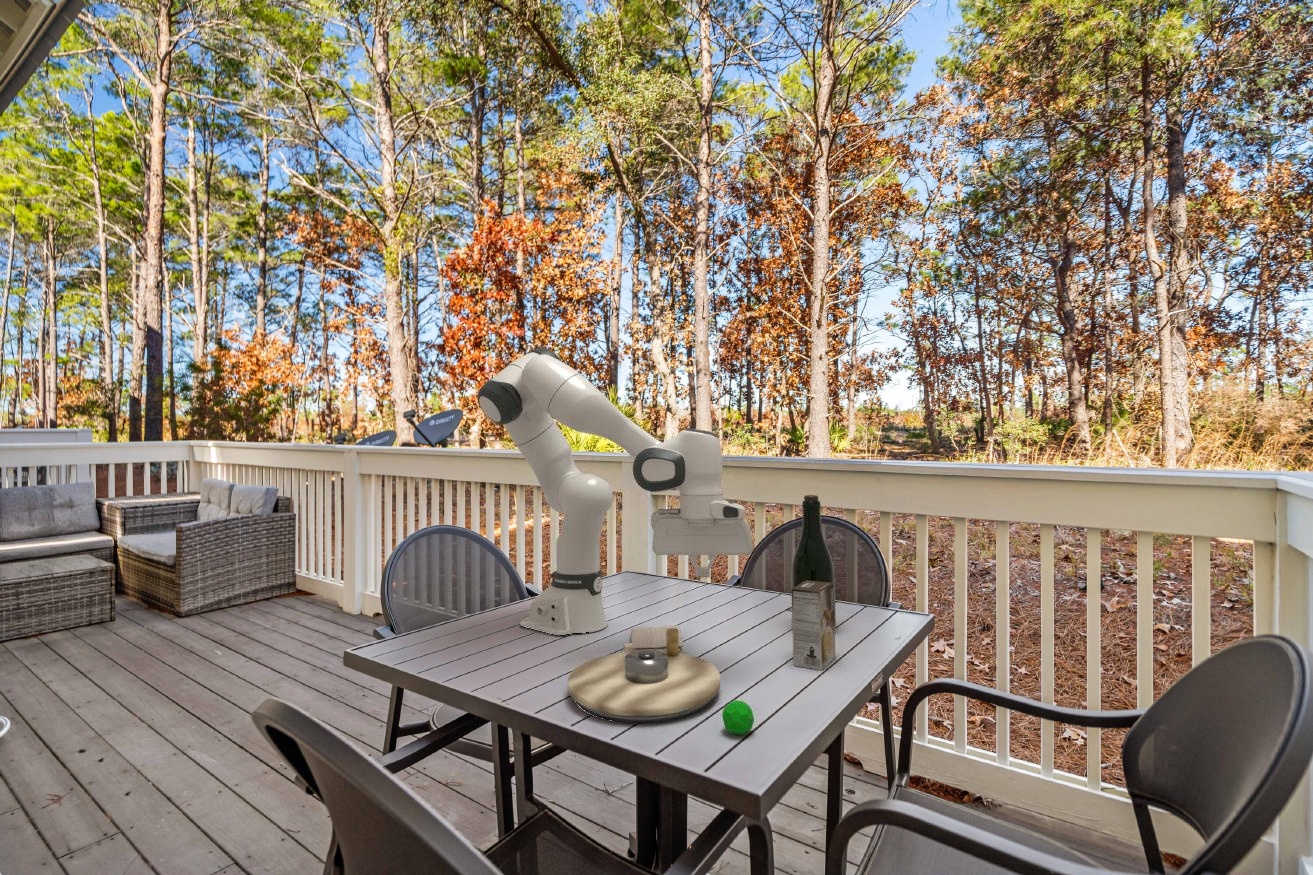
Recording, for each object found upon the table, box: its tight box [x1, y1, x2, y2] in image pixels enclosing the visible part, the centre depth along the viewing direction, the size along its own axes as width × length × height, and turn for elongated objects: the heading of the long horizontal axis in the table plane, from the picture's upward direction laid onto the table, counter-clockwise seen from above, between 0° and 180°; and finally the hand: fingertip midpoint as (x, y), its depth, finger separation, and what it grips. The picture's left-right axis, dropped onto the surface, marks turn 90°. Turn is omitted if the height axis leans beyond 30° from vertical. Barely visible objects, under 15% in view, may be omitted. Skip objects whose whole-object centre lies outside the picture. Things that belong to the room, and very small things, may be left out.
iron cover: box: [625, 650, 668, 684], centre depth 116 cm, size 8×8×4 cm
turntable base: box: [575, 642, 716, 725], centre depth 117 cm, size 26×26×4 cm
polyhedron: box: [721, 700, 755, 736], centre depth 100 cm, size 5×5×5 cm
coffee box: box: [791, 580, 836, 671], centre depth 131 cm, size 9×6×16 cm
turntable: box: [567, 628, 721, 716], centre depth 117 cm, size 28×28×6 cm
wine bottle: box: [791, 494, 837, 631], centre depth 153 cm, size 10×10×33 cm
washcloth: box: [630, 625, 684, 654], centre depth 144 cm, size 12×18×3 cm, turn 3°
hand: (702, 576), depth 127 cm, fingers closed
